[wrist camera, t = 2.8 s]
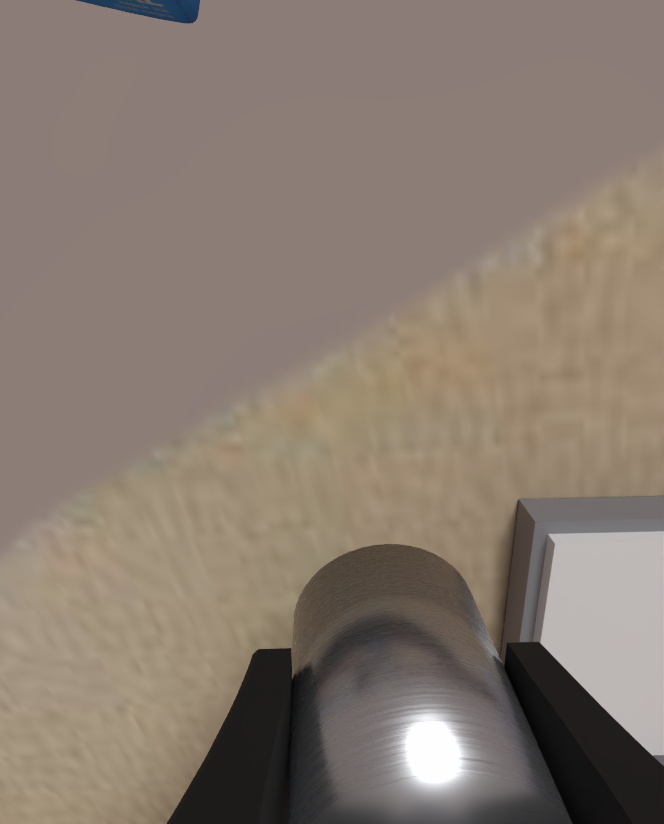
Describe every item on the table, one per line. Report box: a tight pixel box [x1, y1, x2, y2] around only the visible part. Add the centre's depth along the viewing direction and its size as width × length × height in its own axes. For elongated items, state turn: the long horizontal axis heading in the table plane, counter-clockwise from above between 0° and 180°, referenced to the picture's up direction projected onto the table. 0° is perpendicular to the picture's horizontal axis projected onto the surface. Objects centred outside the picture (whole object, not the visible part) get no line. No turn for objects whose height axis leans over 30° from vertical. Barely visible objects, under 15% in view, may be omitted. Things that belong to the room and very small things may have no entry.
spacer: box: [287, 544, 573, 824], centre depth 10 cm, size 4×4×5 cm
